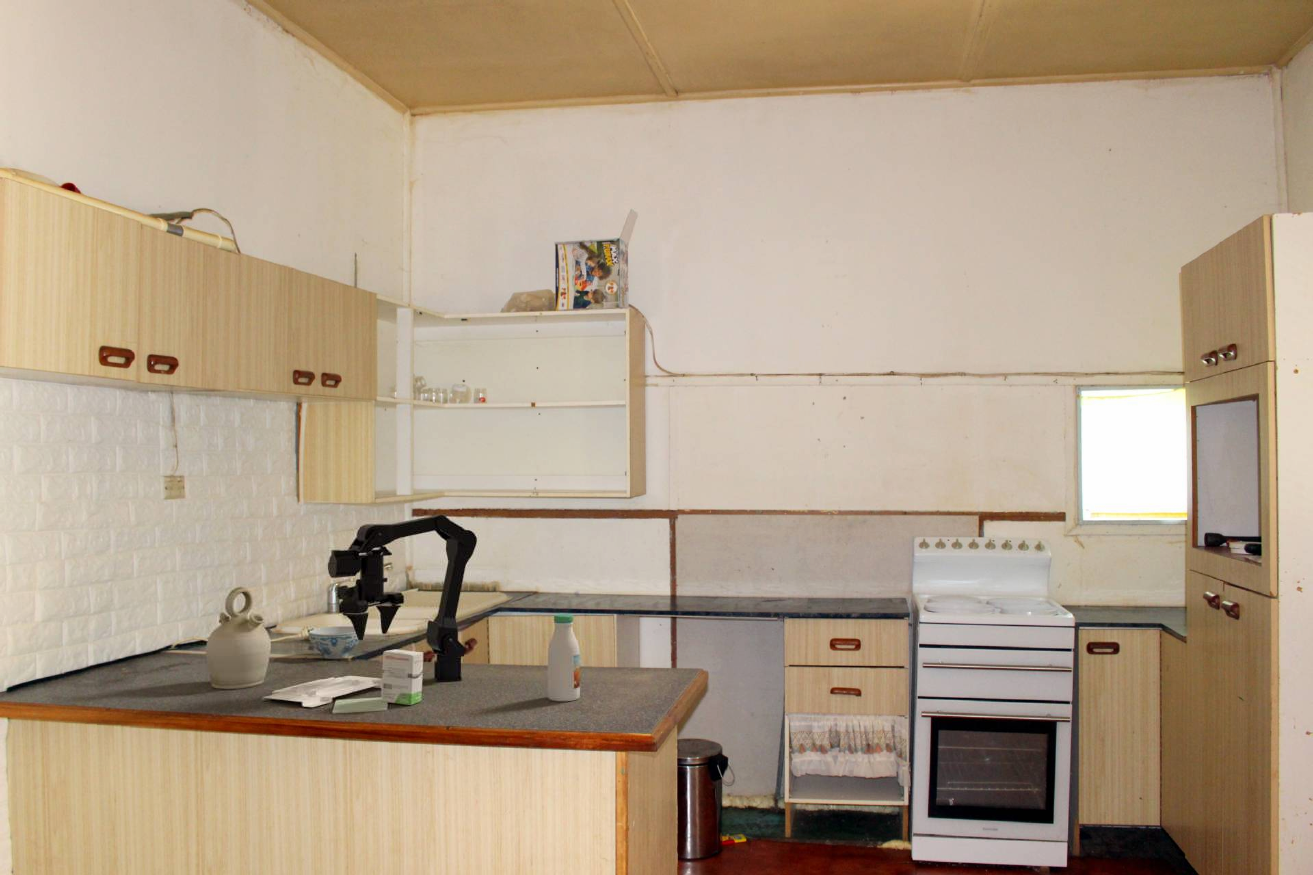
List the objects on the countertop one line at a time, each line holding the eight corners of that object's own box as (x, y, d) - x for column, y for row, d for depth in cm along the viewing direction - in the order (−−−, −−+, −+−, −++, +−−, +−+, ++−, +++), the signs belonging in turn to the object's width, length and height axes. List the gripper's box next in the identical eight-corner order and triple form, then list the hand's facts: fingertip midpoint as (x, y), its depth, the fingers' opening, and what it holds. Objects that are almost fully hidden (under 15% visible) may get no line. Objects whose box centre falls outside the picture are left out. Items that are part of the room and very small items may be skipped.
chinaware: (348, 649, 303) (348, 624, 304) (371, 656, 292) (371, 630, 293) (300, 656, 293) (300, 630, 294) (322, 663, 282) (322, 636, 282)
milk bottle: (566, 703, 232) (566, 618, 233) (541, 699, 236) (540, 615, 237) (586, 697, 239) (586, 614, 239) (560, 693, 243) (560, 611, 243)
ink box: (422, 701, 235) (424, 651, 235) (410, 705, 230) (413, 654, 231) (391, 697, 238) (394, 648, 238) (379, 701, 233) (382, 651, 234)
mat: (388, 698, 238) (388, 696, 238) (387, 710, 226) (387, 708, 226) (336, 701, 235) (336, 699, 235) (332, 713, 224) (332, 711, 224)
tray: (251, 700, 237) (251, 684, 238) (338, 682, 262) (338, 668, 262) (312, 707, 228) (313, 690, 228) (397, 687, 253) (397, 673, 253)
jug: (281, 683, 256) (281, 586, 256) (221, 693, 244) (221, 592, 245) (254, 675, 266) (255, 582, 267) (195, 684, 255) (196, 587, 255)
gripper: (369, 569, 259) (370, 629, 259) (320, 577, 242) (321, 641, 242) (404, 570, 255) (405, 631, 255) (357, 579, 238) (358, 644, 237)
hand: (372, 636), depth 247 cm, fingers open, 9 cm apart
